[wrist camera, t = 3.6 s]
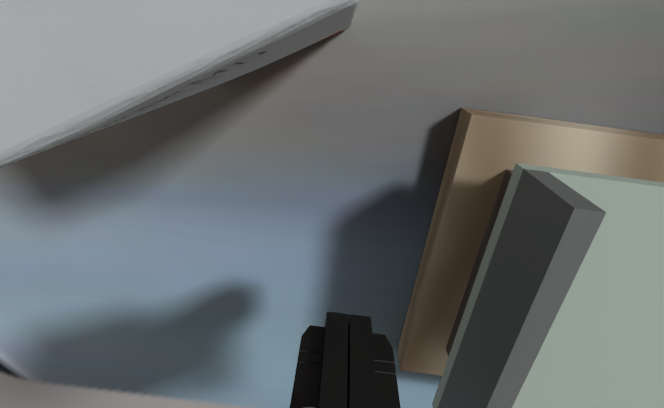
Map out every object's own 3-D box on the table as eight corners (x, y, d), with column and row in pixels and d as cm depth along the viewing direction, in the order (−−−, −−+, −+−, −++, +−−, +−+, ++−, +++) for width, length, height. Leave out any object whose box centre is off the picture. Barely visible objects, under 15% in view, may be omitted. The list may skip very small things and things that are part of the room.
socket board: (397, 349, 22) (406, 412, 18) (461, 107, 16) (494, 129, 12) (633, 379, 22) (690, 448, 18) (783, 150, 16) (913, 184, 12)
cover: (432, 403, 17) (451, 488, 14) (515, 163, 12) (574, 208, 9) (682, 435, 17) (758, 527, 14) (865, 209, 12) (1047, 270, 9)
